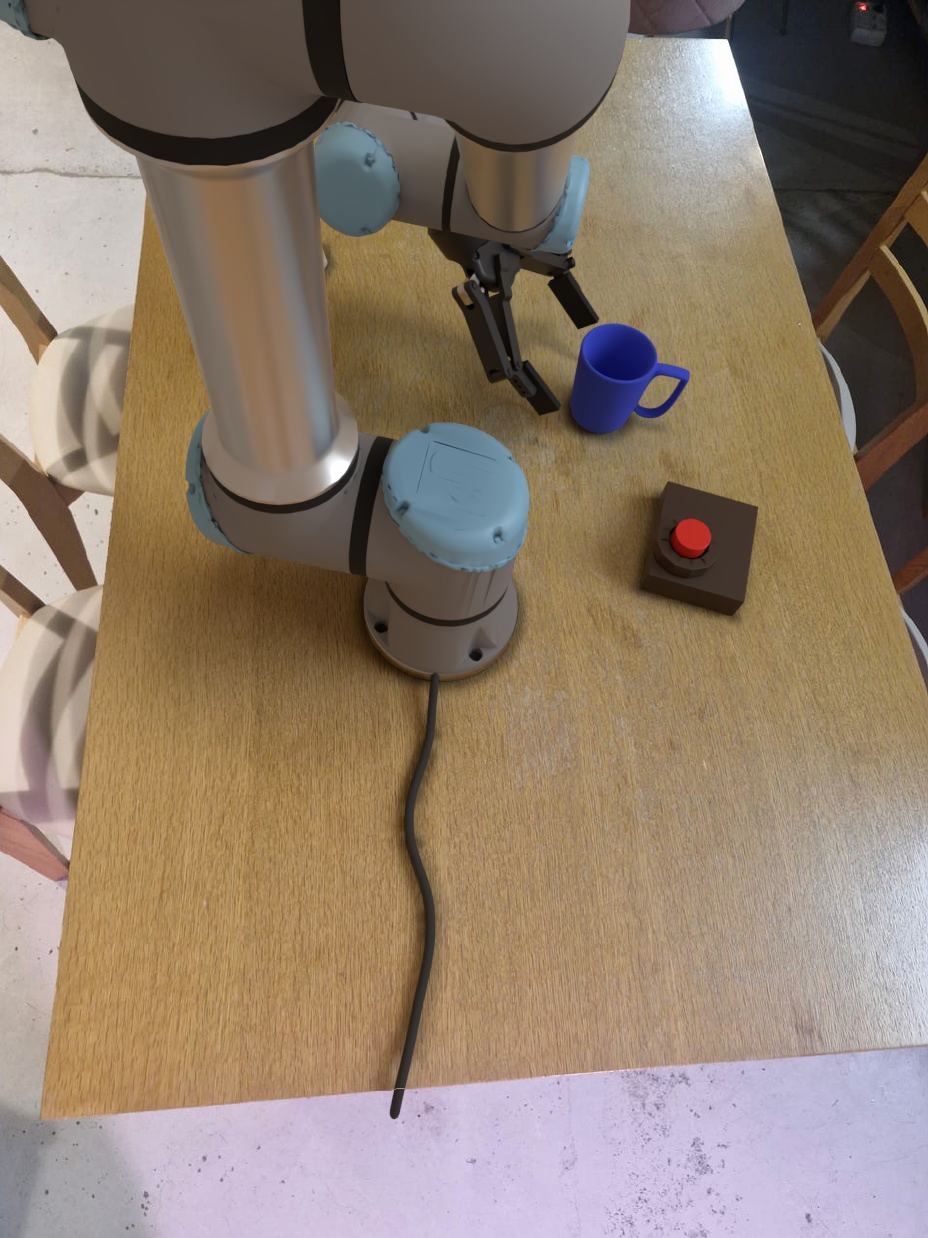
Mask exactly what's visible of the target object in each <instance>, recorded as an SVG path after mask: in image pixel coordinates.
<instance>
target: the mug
mask: <svg viewBox="0 0 928 1238" xmlns="http://www.w3.org/2000/svg"><path fill="white" fill-rule="evenodd" d="M659 376H663V377H669V378H673V379H675V380H679V382H678V384H677V385H676V387H675V388H674V390H673V392H672V393H671V394H670V396H668V398H667V399H666V400H665V401H664V402H663V403H662V404H660V405H659V406H656V407H644V406H642V405H640V404H639V403H640V400H641V398H642V397H643V395H644V393H645V391H646V390H647V388H648V386H649V385H650V383H651V382H652V381H653V380H654V379H655V378H657V377H659ZM690 378H691V372H690V370H689V369H686V368H684V367H680V366H677V365H673V364H669V363H664V362H658V352H657V349H656V347H655V345H654V343H653V341H651V339H650V338H649V336H647V335H646V334H645V333H644V332H642V331H641V330H639V329H637V328H635V327H632V326H631V325H627V324H623V323H612V322H611V323H605V324H600V325H597V326H595V327H594V328H592V329H590V330H589V331H588V332H587V333H586V334H585V335H584V336H583V338H582V341H581V343H580V348H579V354H578V358H577V363H576V368H575V374H574V378H573V383H572V389H571V394H570V399H569V407H570V413H571V415H572V417H573V420H574V421H575V422H576V423H577V424H578V425H579V426H580V427H582V428H583V429H584V430H587V431H588V432H592V433H596V434H609V433H613V432H615V431H617V430H618V429H620V428H621V427H622V426H623V425H624V424H625V423H626V422H627V421H628V419H629V418H630V417H631V415H632V413H633V412H634V413H635V415H637V416H639V417H641V418H645V419H657V418H660V417H661V416H663V415H665V414H666V413H667V412H668V411H670V409H671V408H672V407H673V406H674V404H676V402H677V400H678V399H679V397H680V396H681V395H682V393H683V391H684V390H685V388H686V387H687V386H688V382H689V381H690Z"/></svg>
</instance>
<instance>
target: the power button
mask: <svg viewBox="0 0 928 1238" xmlns="http://www.w3.org/2000/svg"><path fill="white" fill-rule="evenodd" d="M710 541H711V533H710V531H709V529H708V527H707V526H706V525H705V524H704V523H702V522H701V521H698V520H695V519H686V520H683V521H681V522H680V523H679V524H678V525H677V527H676V528H675V530H674V532H673V533H672V535H671V545H672V547H673V549H674V550H675V552H677V553H678V554H679V555H681V556H683V557H686V558H695V557H698V556H700V555H701V554H702V553H703V552H704V551H705V549H706V548H707V546H708V545H709V543H710Z"/></svg>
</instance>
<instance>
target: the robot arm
mask: <svg viewBox="0 0 928 1238" xmlns="http://www.w3.org/2000/svg"><path fill="white" fill-rule="evenodd" d="M0 21H1V22H4V23H6V24H7V25H8V26H9V27H11V28H12V29H13V30H15V31H18V32H20V33H21V34H22V35H23V36H24V37H26V38H29V39H32V40H34V41H35V40H36V41H48V40H51V39H53V40H54V41H56V42H57V43H58V44H59V45H60V46H61V47H62V49H63V51H64V54H65V57H66V60H67V62H68V66H69V69H70V71H71V73H72V74H71V75H72V77H73V79H74V83H75V85H76V88H77V91H78V94H79V96H80V99H81V102H82V104H83V108H84V110H85V112H86V114H87V115H88V117H89V120H90V121H91V123H93V124H94V126H95V127H96V128H97V130H98V131H99V132H100V133H101V134H103V136H105V138H107V139H108V140H109V141H110V142H111V143H113V144H114V145H115V146H117V147H119V148H120V149H121V150H123V151H125V152H127V153H129V154H130V155H133V156H134V157H135V160H136V164H137V168H138V170H139V173H140V177H141V180H142V184H143V187H144V190H145V193H146V197H147V199H148V204H149V206H150V211H151V213H152V216H153V220H154V224H155V226H156V229H157V230H156V231H157V233H158V236H159V240H160V242H161V246H162V249H163V253H164V256H165V258H166V259H165V260H166V263H167V266H168V268H169V273H170V276H171V280H172V282H173V283H172V284H173V286H174V289H175V292H176V296H177V299H178V302H179V306H180V309H181V312H182V315H183V319H184V323H185V326H186V329H187V332H188V336H189V339H190V342H191V346H192V348H193V352H194V356H195V359H196V362H197V365H198V369H199V372H200V375H201V378H202V382H203V385H204V388H205V391H206V395H207V399H208V401H209V404H210V409H208V410H207V411H206V412H205V413H204V414H203V415H202V417H201V418H200V419H199V421H198V422H197V424H196V425H195V427H194V430H193V433H192V435H191V438H190V441H189V445H188V449H187V453H186V454H187V455H186V461H185V470H184V471H185V473H184V474H185V476H184V478H185V481H186V482H188V489H187V491H186V493H185V496H186V497H185V498H186V503H187V507H188V510H189V514H190V517H191V519H192V522H193V523H194V525H195V527H196V529H197V530H198V531H199V533H200V534H201V535H202V536H203V537H204V538H206V540H208V541H210V542H211V543H213V544H215V545H217V546H222V547H225V548H228V549H231V550H234V551H235V552H237V553H240V554H243V555H246V556H247V555H248V556H262V557H264V558H265V557H266V558H271V559H276V560H280V561H286V562H290V563H295V564H301V565H305V566H309V567H310V566H311V567H315V568H320V569H325V570H331V571H334V572H340V573H344V574H345V573H346V574H349V575H354V576H360V577H364V578H368V579H367V583H366V585H365V587H364V588H365V589H364V594H363V615H364V616H363V617H364V623H365V627H366V630H367V634H368V636H369V639H370V640H371V643H372V644H373V645H374V647H375V649H376V650H377V651H378V652H379V654H380V655H381V656H382V657H383V658H384V659H385V660H386V661H387V662H389V663H390V664H391V665H393V666H394V667H395V668H397V669H398V670H400V671H401V672H403V673H406V674H408V675H410V676H413V677H415V678H418V679H423V680H428V681H429V692H428V702H427V712H426V713H427V714H426V726H425V734H424V739H423V743H422V748H421V751H420V755H419V758H418V761H417V763H416V768H415V770H414V773H413V775H412V779H411V781H410V784H409V787H408V792H407V794H406V801H405V806H404V821H403V822H404V823H403V824H404V836H405V842H406V848H407V851H408V854H409V858H410V860H411V864H412V867H413V869H414V872H415V875H416V878H417V880H418V884H419V887H420V890H421V894H422V898H423V905H424V913H425V914H424V915H425V936H424V937H425V938H424V946H423V955H422V962H421V966H420V971H419V976H418V980H417V983H416V984H417V986H416V989H415V993H414V997H413V1002H412V1007H411V1012H410V1016H409V1021H408V1026H407V1031H406V1036H405V1040H404V1046H403V1050H402V1053H401V1058H400V1063H399V1067H398V1071H397V1075H396V1079H395V1084H394V1088H393V1091H392V1092H393V1093H392V1098H391V1101H390V1107H389V1117H390V1119H392V1120H397V1119H398V1118H399V1116H400V1115H401V1111H402V1110H401V1109H402V1104H403V1099H404V1094H405V1092H406V1091H405V1090H406V1086H407V1082H408V1078H409V1073H410V1070H411V1069H410V1068H411V1065H412V1060H413V1057H414V1056H413V1055H414V1051H415V1048H416V1047H415V1046H416V1043H417V1037H418V1031H419V1026H420V1021H421V1017H422V1012H423V1008H424V1007H423V1006H424V1003H425V999H426V998H425V997H426V993H427V989H428V985H429V980H430V976H431V975H430V974H431V971H432V965H433V960H434V953H435V944H436V943H435V942H436V909H435V907H436V906H435V902H434V896H433V892H432V888H431V885H430V881H429V878H428V876H427V872H426V870H425V868H424V865H423V861H422V858H421V855H420V852H419V849H418V846H417V840H416V835H415V824H414V823H415V821H414V820H415V819H414V818H415V808H416V807H415V806H416V801H417V796H418V792H419V788H420V785H421V782H422V780H423V777H424V773H425V771H426V768H427V765H428V762H429V758H430V755H431V752H432V747H433V743H434V737H435V730H436V722H437V721H436V720H437V707H438V695H439V687H440V682H449V681H451V682H452V681H458V680H463V679H466V678H470V677H472V676H474V675H477V674H479V673H481V672H483V671H484V670H486V669H487V668H489V667H490V666H491V665H493V664H495V662H496V661H497V660H499V658H500V657H501V656H502V654H504V652H505V651H506V650H507V647H508V646H509V644H510V642H511V640H512V638H513V636H514V635H513V634H514V632H515V629H516V626H517V623H518V617H519V597H518V592H517V589H516V588H517V587H516V586H515V583H514V580H513V577H512V575H513V570H514V567H515V565H516V561H517V556H518V554H519V552H520V550H521V548H522V547H523V545H524V542H525V539H526V537H527V533H528V527H529V526H528V525H529V518H528V517H529V512H530V500H531V499H530V489H529V485H528V480H527V478H526V475H525V473H524V471H523V468H522V466H521V465H520V464H519V463H518V462H517V461H516V460H515V459H514V457H513V454H512V452H511V451H510V450H509V449H508V448H507V447H506V446H505V445H504V444H503V443H501V442H500V441H499V440H498V439H497V438H495V437H494V436H492V435H490V434H488V433H487V432H485V431H483V430H481V429H479V428H476V427H473V426H470V425H467V424H463V423H458V422H451V421H450V422H449V421H448V422H447V421H446V422H445V421H440V422H439V421H438V422H431V423H427V424H426V425H425V426H424V428H422V429H418V428H413V429H410V431H408V432H406V433H405V434H404V435H403V436H401V437H400V438H399V439H396V438H390V437H386V436H382V435H377V434H376V435H375V434H371V433H367V432H362V431H359V427H358V426H359V425H358V421H357V419H356V416H355V415H354V412H353V410H352V408H351V406H350V405H349V404H348V402H347V401H346V399H344V397H343V396H342V395H341V394H340V393H339V392H337V391H336V388H335V376H334V365H333V354H332V341H331V331H330V330H331V329H330V319H329V317H330V316H329V307H328V297H327V295H328V294H327V283H326V282H327V281H326V271H325V269H324V259H323V250H324V247H323V237H322V226H321V221H323V222H324V223H325V224H326V225H327V226H328V227H330V228H331V229H333V230H334V231H335V232H338V233H339V234H340V233H341V234H342V235H345V236H349V237H354V238H361V237H365V236H371V235H372V234H376V233H378V232H380V231H381V230H382V229H384V228H385V227H386V226H387V225H388V223H390V222H391V221H394V222H400V223H405V224H408V225H414V226H418V227H423V228H426V229H427V235H428V236H429V238H430V239H431V240H432V242H433V243H434V244H435V246H436V247H437V248H438V250H439V251H440V252H441V254H442V255H443V256H444V258H445V259H446V260H448V261H450V262H454V263H457V264H458V265H460V267H461V268H462V272H464V277H465V279H464V280H463V281H462V282H461V284H458V285H456V286H454V287H453V288H451V291H450V292H451V296H452V298H453V300H454V301H455V303H456V304H457V305H458V307H459V309H460V310H461V312H462V314H463V317H464V319H465V323H466V325H467V327H468V330H469V334H470V335H471V339H472V341H473V344H474V347H475V349H476V352H477V355H478V357H479V360H480V363H481V365H482V368H483V371H484V374H485V376H486V379H487V381H488V383H489V384H497V383H499V382H503V381H506V380H507V381H508V382H509V383H510V384H511V386H512V388H513V389H514V390H515V391H516V393H517V394H518V395H519V396H520V397H521V398H522V399H526V400H527V402H528V403H529V404H530V406H531V408H533V410H534V412H536V414H537V415H538V416H544V415H547V414H551V413H554V412H558V411H560V410H561V408H562V404H561V402H560V401H559V400H558V398H557V397H556V396H555V393H553V391H552V390H551V389H550V387H549V386H548V385H547V383H546V382H545V381H544V379H543V378H542V376H541V375H540V374H539V372H538V371H537V370H536V369H535V367H534V365H533V364H532V363H531V362H530V360H529V359H526V360H523V359H522V355H521V350H520V345H519V339H518V335H517V331H516V325H515V321H514V316H513V311H512V306H511V300H512V298H513V290H512V286H513V285H514V282H515V279H516V275H517V274H518V273H519V272H520V271H521V270H525V271H527V272H530V273H535V274H538V275H541V276H543V277H548V278H551V279H549V281H548V283H547V286H548V288H549V289H550V291H551V293H553V295H554V297H555V298H556V299H557V301H558V302H559V304H560V306H561V307H562V309H563V310H564V311H565V313H566V314H567V316H568V317H569V319H570V321H571V322H572V323H573V325H574V326H575V328H576V329H577V330H581V329H584V328H587V327H590V326H593V325H596V324H598V323H599V320H600V317H599V315H598V314H597V312H596V311H595V309H594V308H593V306H592V304H591V303H590V302H589V300H588V298H587V297H586V295H585V293H584V292H583V290H582V288H581V285H580V283H579V282H578V281H577V279H576V277H575V276H574V275H573V273H572V271H571V270H572V269H575V267H576V265H577V263H576V259H575V258H574V257H573V256H570V255H572V253H573V246H574V244H575V241H576V238H577V235H578V231H579V227H580V223H581V219H582V214H583V211H584V205H585V202H586V197H587V192H588V187H589V182H590V177H591V165H590V162H589V160H588V158H586V157H585V156H583V155H580V154H576V153H574V151H575V148H576V143H577V139H578V136H579V133H580V129H582V128H583V127H584V126H585V125H586V124H587V122H589V120H591V119H592V117H593V116H594V115H595V114H596V112H597V111H598V109H599V108H600V107H601V105H602V104H603V103H604V101H605V99H606V97H607V95H608V94H609V92H610V90H611V88H612V86H613V83H614V81H615V79H616V76H617V74H618V71H619V67H620V64H621V61H622V58H623V54H624V52H625V51H624V50H625V47H626V42H627V36H628V32H629V28H630V24H631V23H630V22H631V0H0ZM316 138H317V139H316ZM315 139H316V142H315V143H314V140H315ZM489 292H490V293H493V295H490V293H489ZM396 1088H405V1089H396ZM394 1089H396V1090H394Z"/></svg>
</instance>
